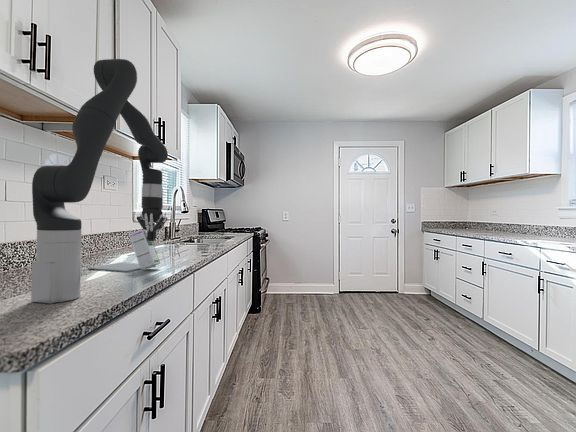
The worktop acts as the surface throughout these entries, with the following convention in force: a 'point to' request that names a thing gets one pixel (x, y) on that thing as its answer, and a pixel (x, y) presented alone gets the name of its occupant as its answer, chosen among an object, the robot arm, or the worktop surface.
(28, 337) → the worktop surface
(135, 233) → the syrup box
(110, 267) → the mat
